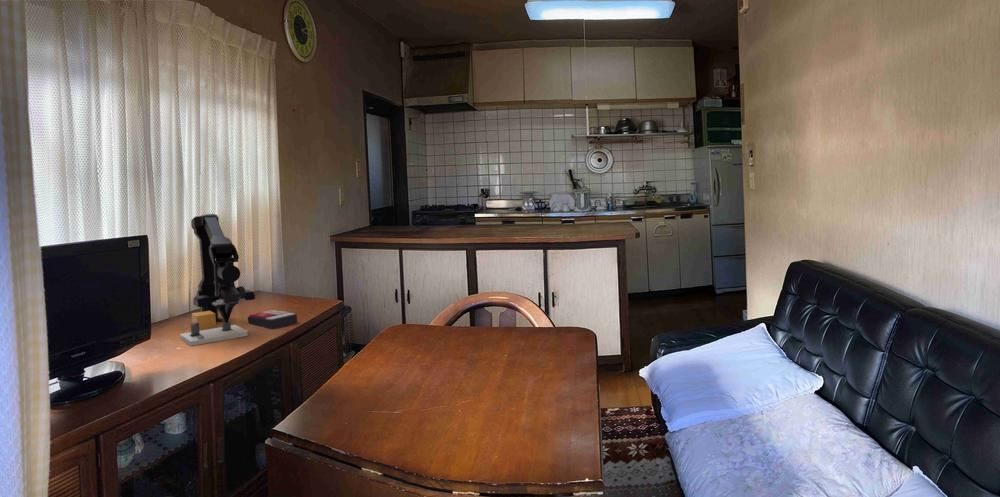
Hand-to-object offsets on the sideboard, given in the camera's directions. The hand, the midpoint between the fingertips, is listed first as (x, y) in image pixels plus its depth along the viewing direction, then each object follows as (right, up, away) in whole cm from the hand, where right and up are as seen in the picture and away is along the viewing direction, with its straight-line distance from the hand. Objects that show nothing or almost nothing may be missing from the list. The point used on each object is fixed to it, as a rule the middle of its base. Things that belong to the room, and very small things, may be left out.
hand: (226, 322), depth 200 cm
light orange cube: (-10, -3, +6) cm, 12 cm away
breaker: (-7, -3, -7) cm, 10 cm away
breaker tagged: (0, -4, 0) cm, 4 cm away
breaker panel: (-2, -5, -3) cm, 6 cm away
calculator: (+10, -3, +15) cm, 19 cm away
